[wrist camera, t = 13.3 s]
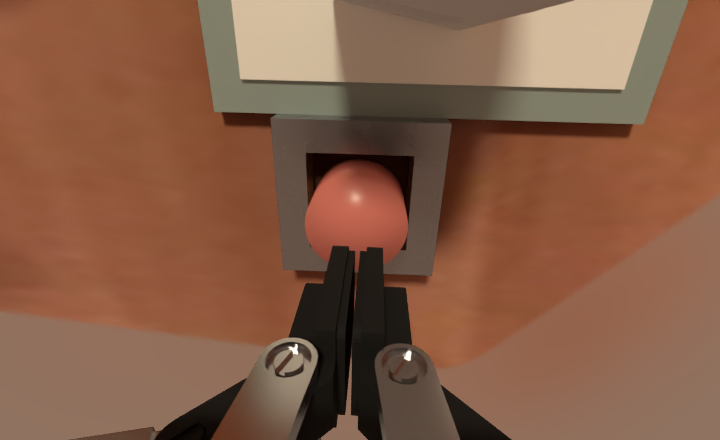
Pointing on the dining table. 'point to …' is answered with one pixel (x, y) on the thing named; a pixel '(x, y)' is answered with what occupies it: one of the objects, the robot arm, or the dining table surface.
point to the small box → (457, 10)
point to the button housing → (370, 137)
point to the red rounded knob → (357, 210)
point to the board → (439, 61)
